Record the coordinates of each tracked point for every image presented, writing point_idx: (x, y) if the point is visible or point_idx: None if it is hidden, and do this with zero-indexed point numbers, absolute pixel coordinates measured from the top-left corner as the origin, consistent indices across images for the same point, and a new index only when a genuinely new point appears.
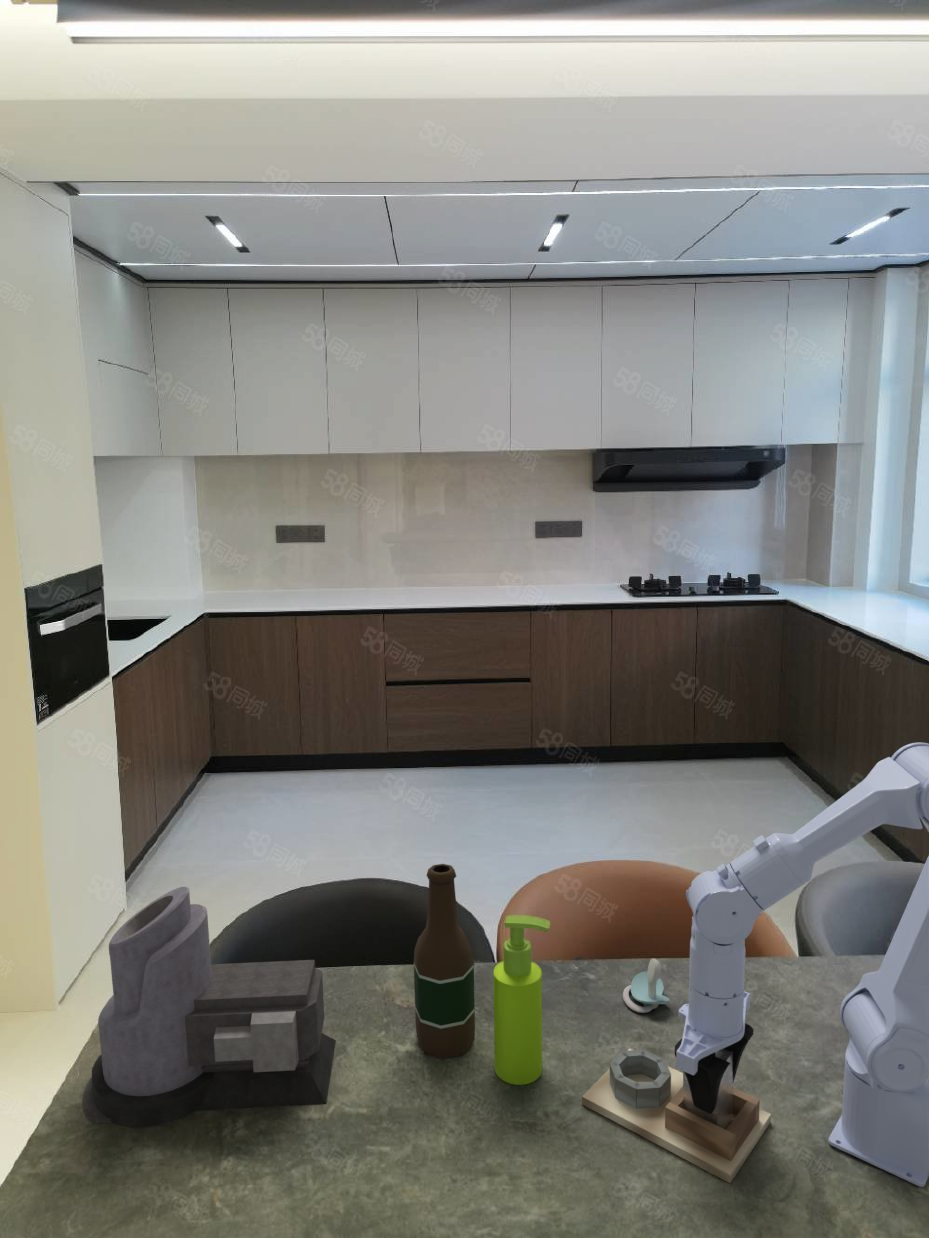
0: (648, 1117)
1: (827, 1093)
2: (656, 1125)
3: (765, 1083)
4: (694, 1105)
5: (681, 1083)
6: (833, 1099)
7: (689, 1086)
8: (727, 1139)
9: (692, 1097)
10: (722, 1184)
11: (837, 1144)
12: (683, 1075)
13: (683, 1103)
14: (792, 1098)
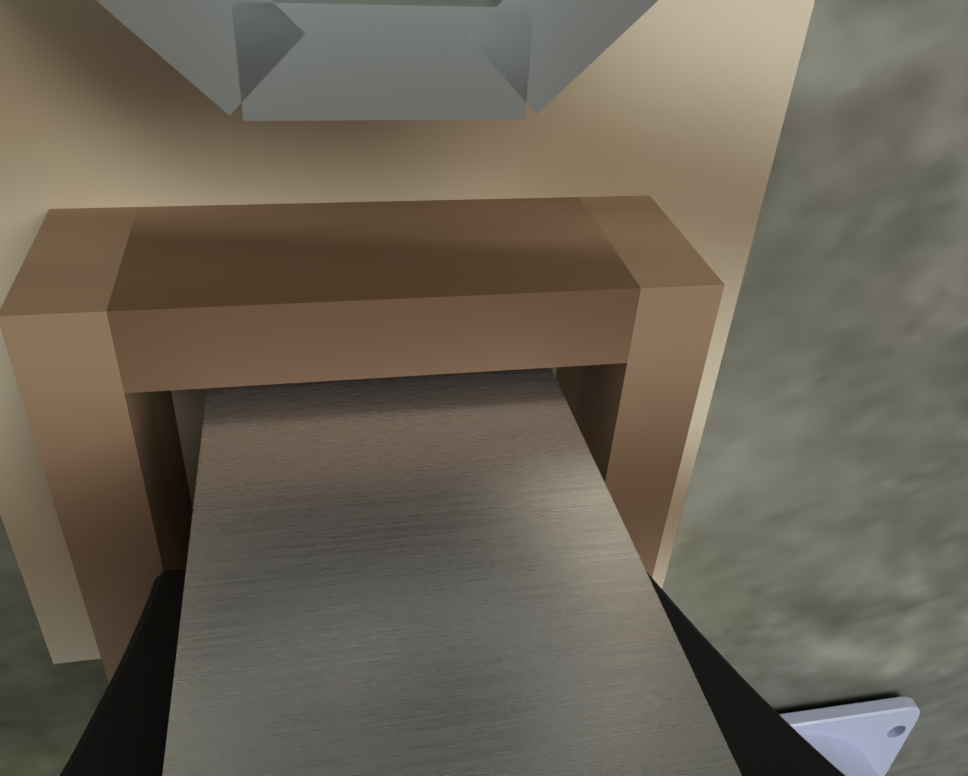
0: (26, 20)
1: (954, 619)
2: (4, 137)
3: (943, 426)
4: (155, 582)
5: (666, 65)
6: (921, 644)
7: (76, 747)
8: None
9: (130, 639)
10: (21, 597)
11: None
12: (178, 658)
13: (207, 407)
14: (867, 550)
